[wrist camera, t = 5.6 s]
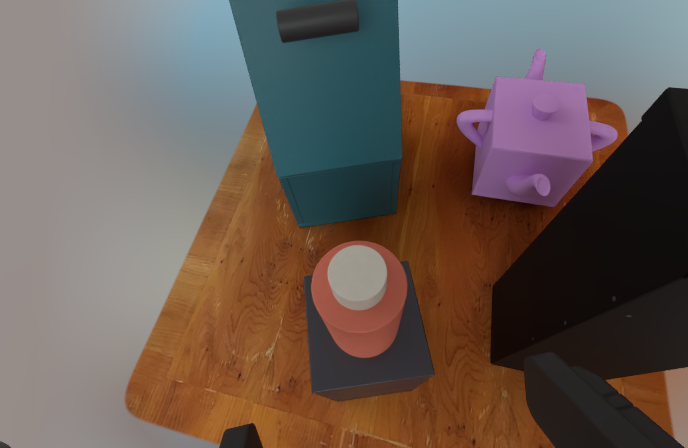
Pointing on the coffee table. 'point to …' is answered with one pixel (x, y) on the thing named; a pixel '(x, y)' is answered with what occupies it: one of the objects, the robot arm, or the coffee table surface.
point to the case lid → (324, 80)
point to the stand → (375, 372)
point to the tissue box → (609, 263)
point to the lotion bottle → (360, 296)
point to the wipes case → (343, 193)
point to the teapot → (532, 138)
